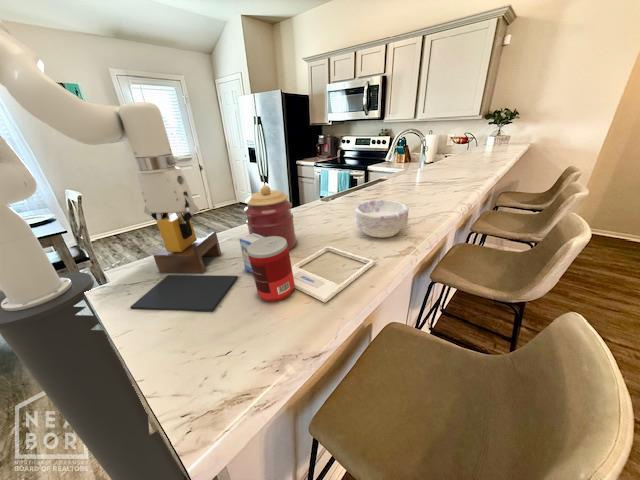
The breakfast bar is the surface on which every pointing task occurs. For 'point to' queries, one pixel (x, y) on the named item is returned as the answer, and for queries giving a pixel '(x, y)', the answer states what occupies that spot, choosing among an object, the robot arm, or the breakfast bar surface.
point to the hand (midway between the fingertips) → (179, 236)
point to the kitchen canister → (270, 215)
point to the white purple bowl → (381, 217)
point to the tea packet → (174, 234)
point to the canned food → (271, 268)
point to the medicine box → (244, 244)
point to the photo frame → (319, 285)
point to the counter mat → (186, 293)
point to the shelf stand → (188, 256)
